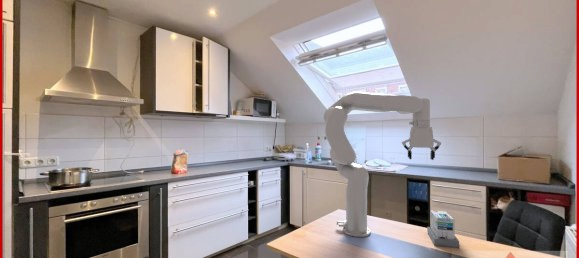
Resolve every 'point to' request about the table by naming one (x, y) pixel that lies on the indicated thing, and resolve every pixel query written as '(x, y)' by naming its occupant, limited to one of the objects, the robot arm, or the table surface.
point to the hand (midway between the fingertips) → (421, 159)
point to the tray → (442, 240)
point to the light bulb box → (442, 225)
